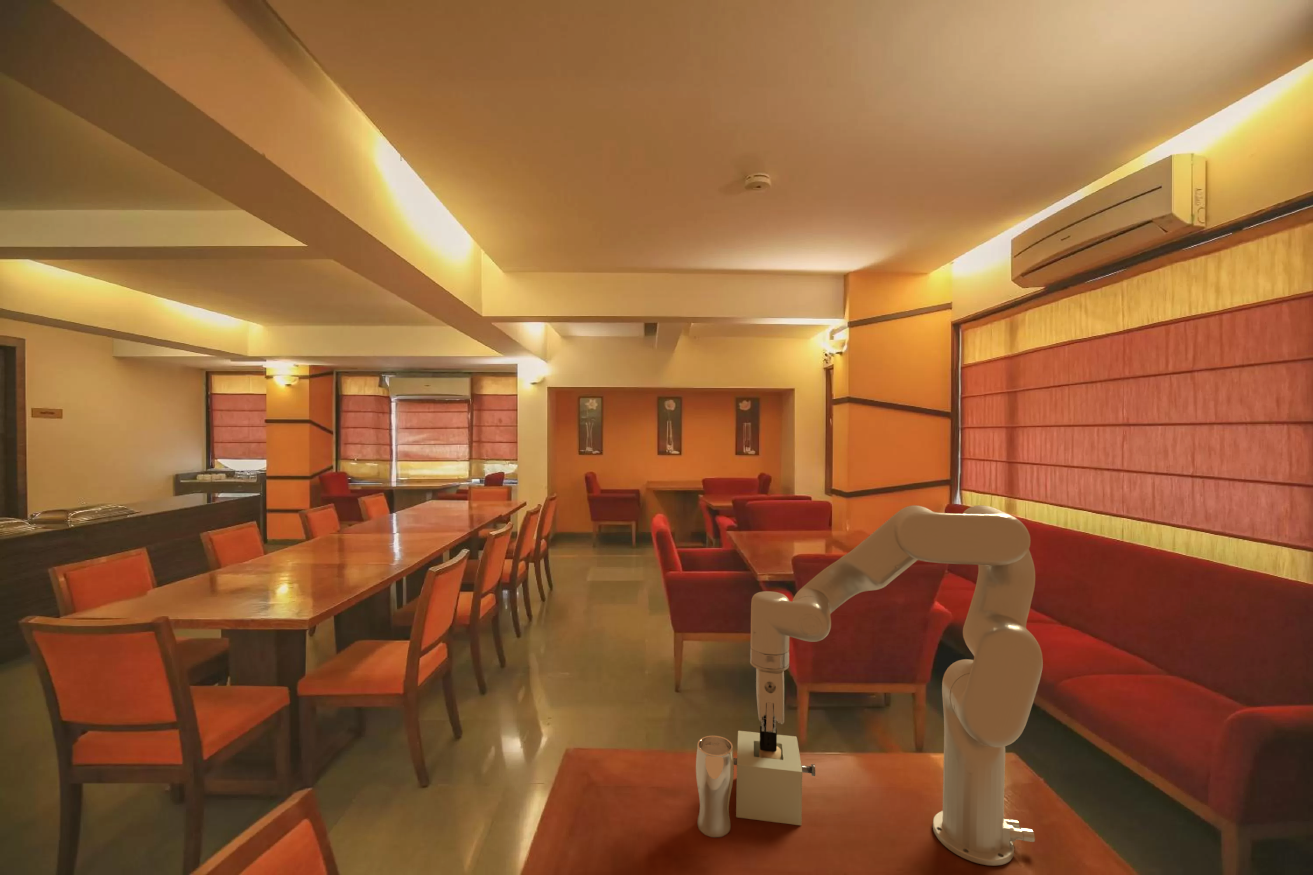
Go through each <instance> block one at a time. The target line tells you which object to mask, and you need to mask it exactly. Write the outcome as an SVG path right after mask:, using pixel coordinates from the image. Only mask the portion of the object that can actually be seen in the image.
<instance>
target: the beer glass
mask: <svg viewBox="0 0 1313 875" xmlns="http://www.w3.org/2000/svg"><path fill="white" fill-rule="evenodd" d="M696 745H697V746H696V748H697V749H696V756H695V757H696V758H695V776H696V778H695V779H696V784H697V791H698V798H699V813H698V816H697V823H696V824H697V827H698V830H699V831H700V832H701V833H702V834H704V835H705V836H707V837H710V838H722V837H724V836H727V835H728V833H729V832H730V831H731V819H730V813H729V811H730V810H729V806H730V799H731V795H732V794H731V793H732V790H733V789H732V788H733V784H734V783H733V782H734V773H735V772H734V769H735V765H734V759H733V758H734V746H733V745H734V744H733V743H732V742H731V741H730V740H729V739H728V738H727V737H724V736H720V735H707V736H703V737H701V738H700V739H699V740H698V741H697V744H696Z"/></svg>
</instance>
